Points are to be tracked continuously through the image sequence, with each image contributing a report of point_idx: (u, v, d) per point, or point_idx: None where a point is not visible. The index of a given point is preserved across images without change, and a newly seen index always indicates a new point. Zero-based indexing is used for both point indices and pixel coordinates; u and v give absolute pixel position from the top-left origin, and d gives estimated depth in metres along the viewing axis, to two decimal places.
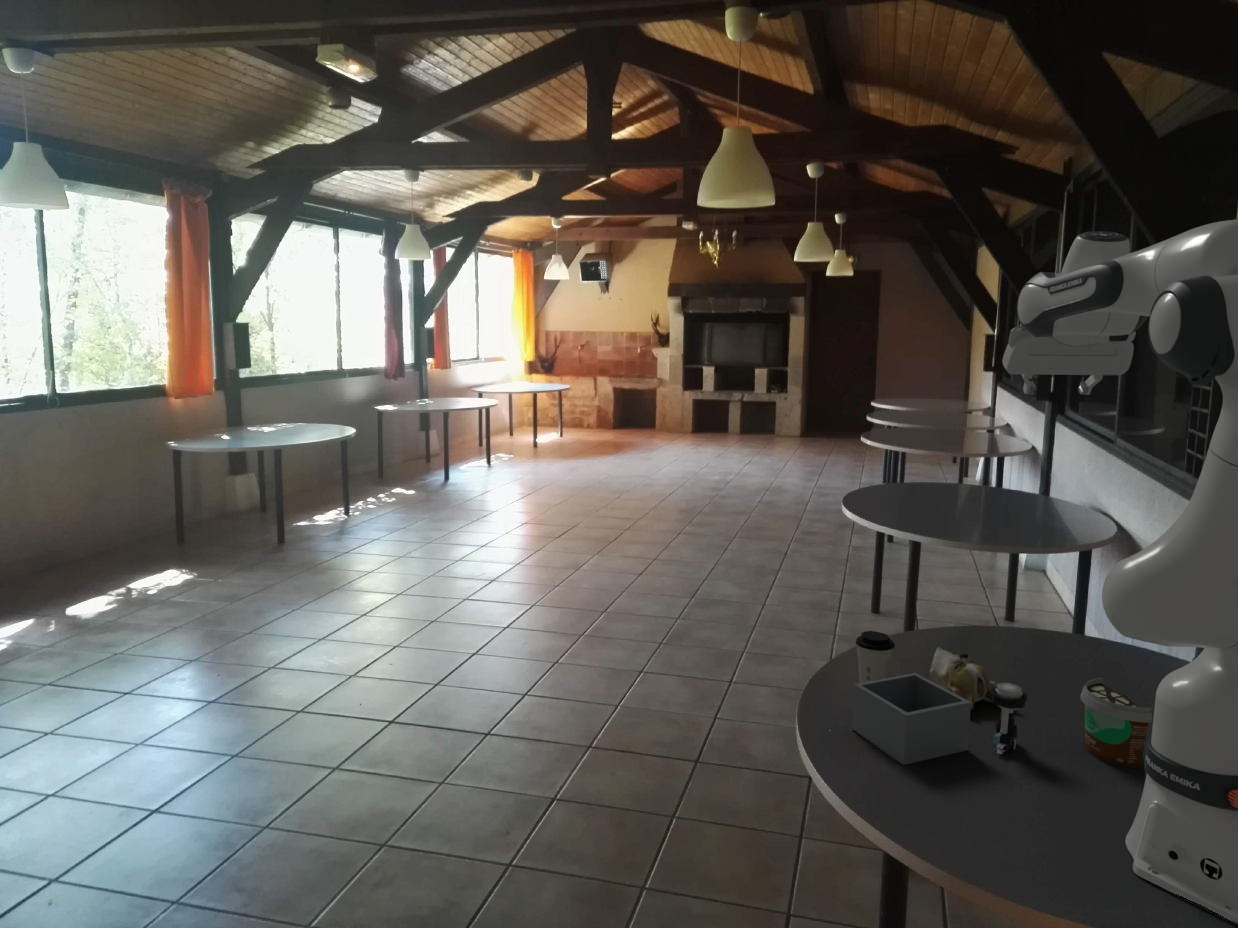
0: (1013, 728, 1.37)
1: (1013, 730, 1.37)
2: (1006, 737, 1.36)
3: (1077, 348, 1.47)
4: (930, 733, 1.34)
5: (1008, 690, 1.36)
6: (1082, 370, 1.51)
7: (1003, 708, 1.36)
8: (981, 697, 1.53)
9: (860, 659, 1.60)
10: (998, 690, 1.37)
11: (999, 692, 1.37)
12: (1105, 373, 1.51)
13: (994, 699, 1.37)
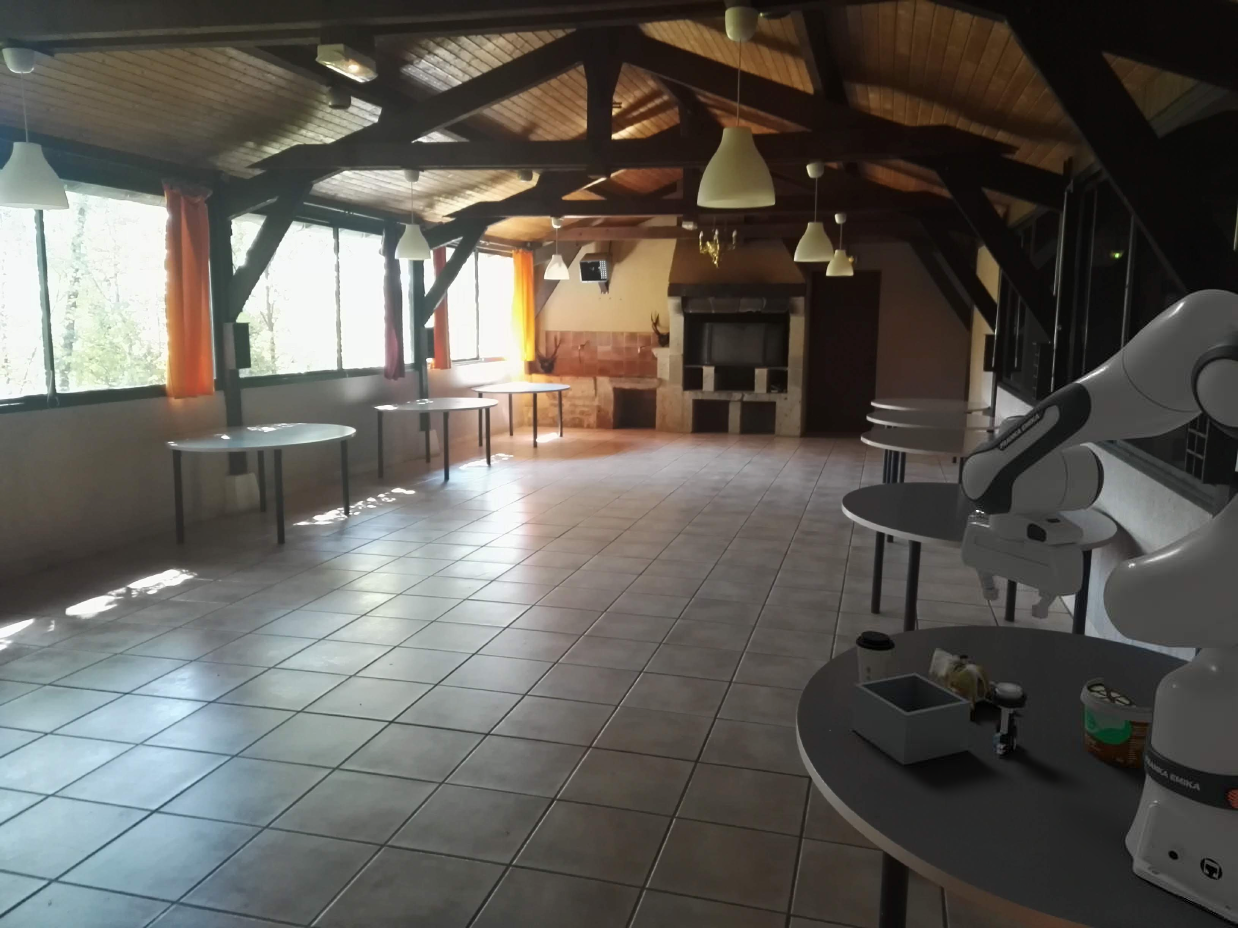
0: (1013, 728, 1.37)
1: (1013, 730, 1.37)
2: (1006, 737, 1.36)
3: (1003, 541, 1.32)
4: (930, 733, 1.34)
5: (1008, 690, 1.36)
6: (1021, 577, 1.31)
7: (1003, 708, 1.36)
8: (981, 698, 1.53)
9: (860, 659, 1.60)
10: (998, 690, 1.37)
11: (999, 692, 1.37)
12: (1042, 587, 1.27)
13: (994, 699, 1.37)
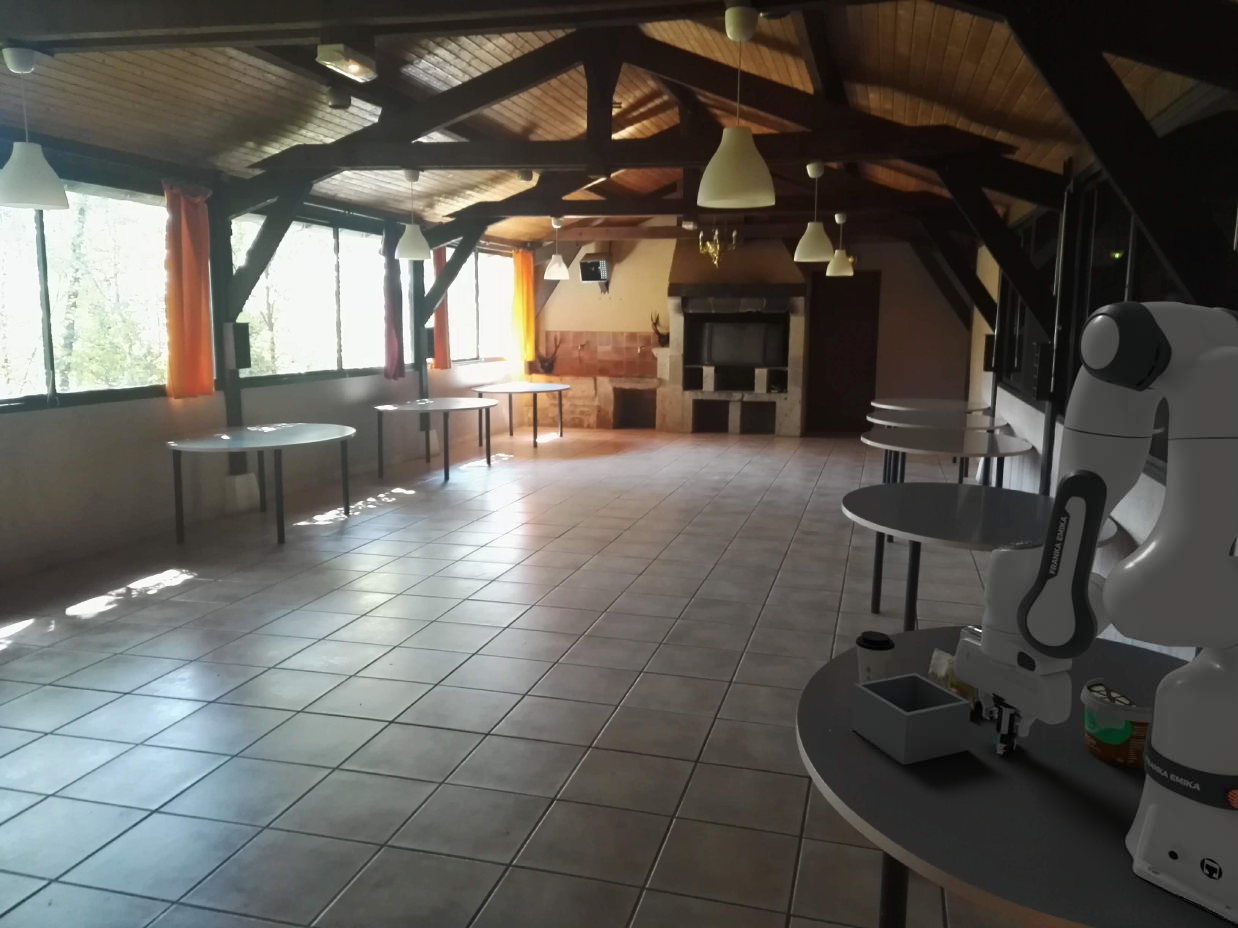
0: None
1: None
2: (1006, 737, 1.36)
3: (994, 663, 1.35)
4: (930, 733, 1.34)
5: None
6: (1011, 699, 1.34)
7: (1004, 708, 1.36)
8: None
9: (860, 659, 1.60)
10: None
11: None
12: (1032, 713, 1.30)
13: (995, 699, 1.37)
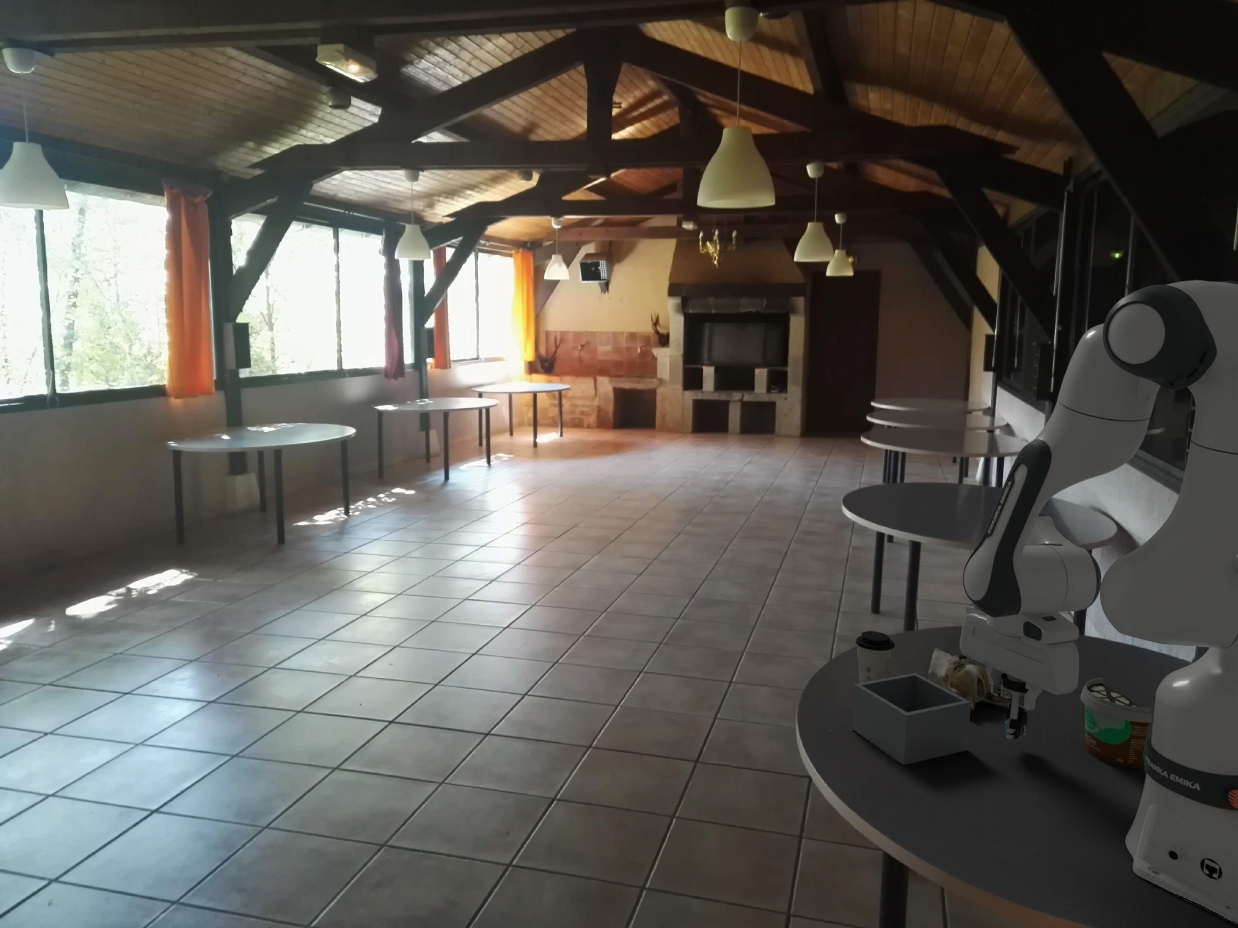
0: (1023, 714, 1.36)
1: (1023, 716, 1.35)
2: (1016, 722, 1.35)
3: (1000, 636, 1.34)
4: (930, 733, 1.34)
5: None
6: (1018, 672, 1.33)
7: (1013, 692, 1.35)
8: (981, 698, 1.52)
9: (860, 659, 1.60)
10: None
11: (1010, 676, 1.36)
12: (1039, 684, 1.29)
13: (1004, 683, 1.36)
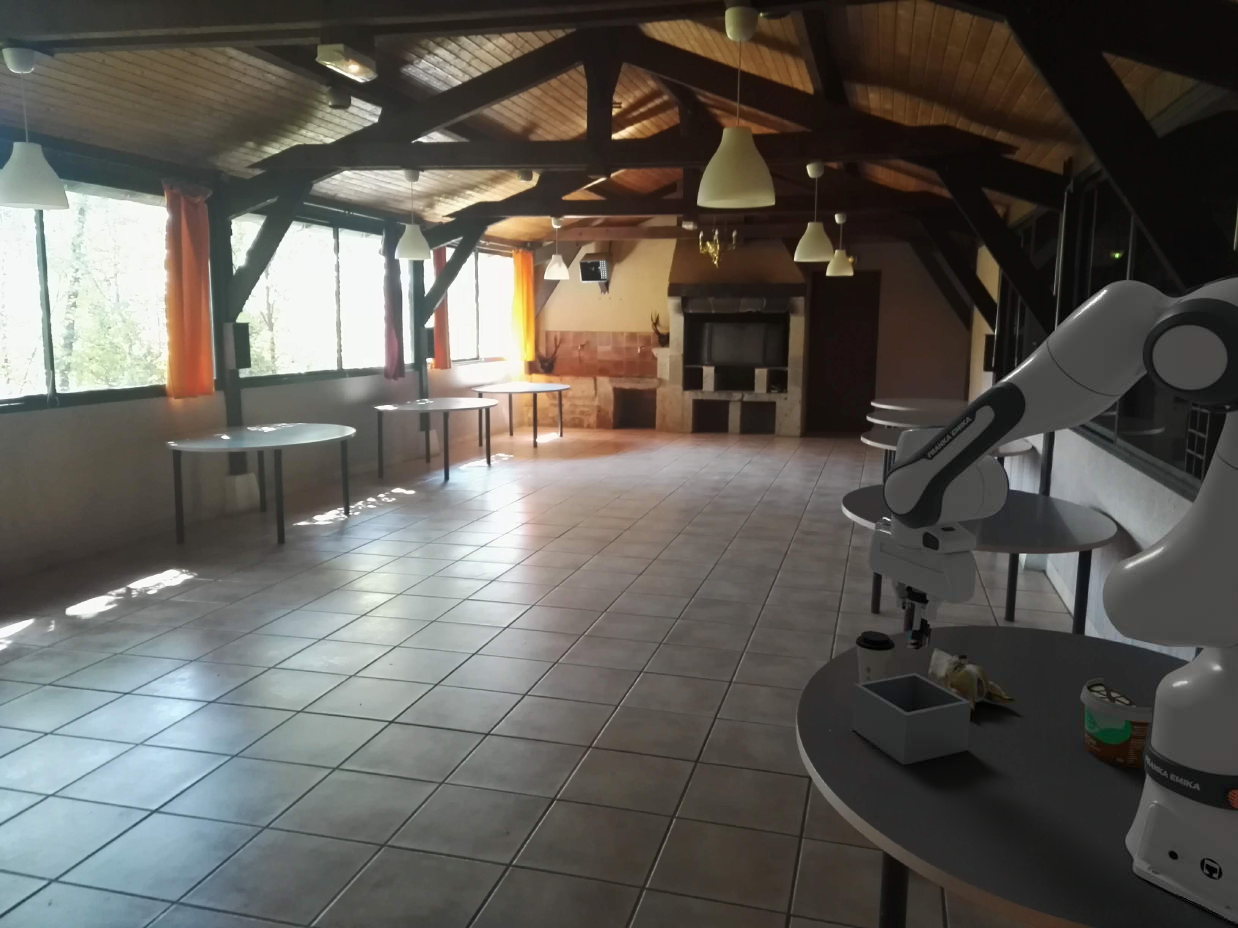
0: (925, 625, 1.37)
1: (925, 627, 1.37)
2: (918, 633, 1.36)
3: (903, 548, 1.35)
4: (930, 733, 1.34)
5: None
6: (919, 584, 1.34)
7: (916, 604, 1.37)
8: (981, 698, 1.52)
9: (860, 659, 1.60)
10: None
11: (914, 588, 1.37)
12: (937, 594, 1.30)
13: (908, 595, 1.37)
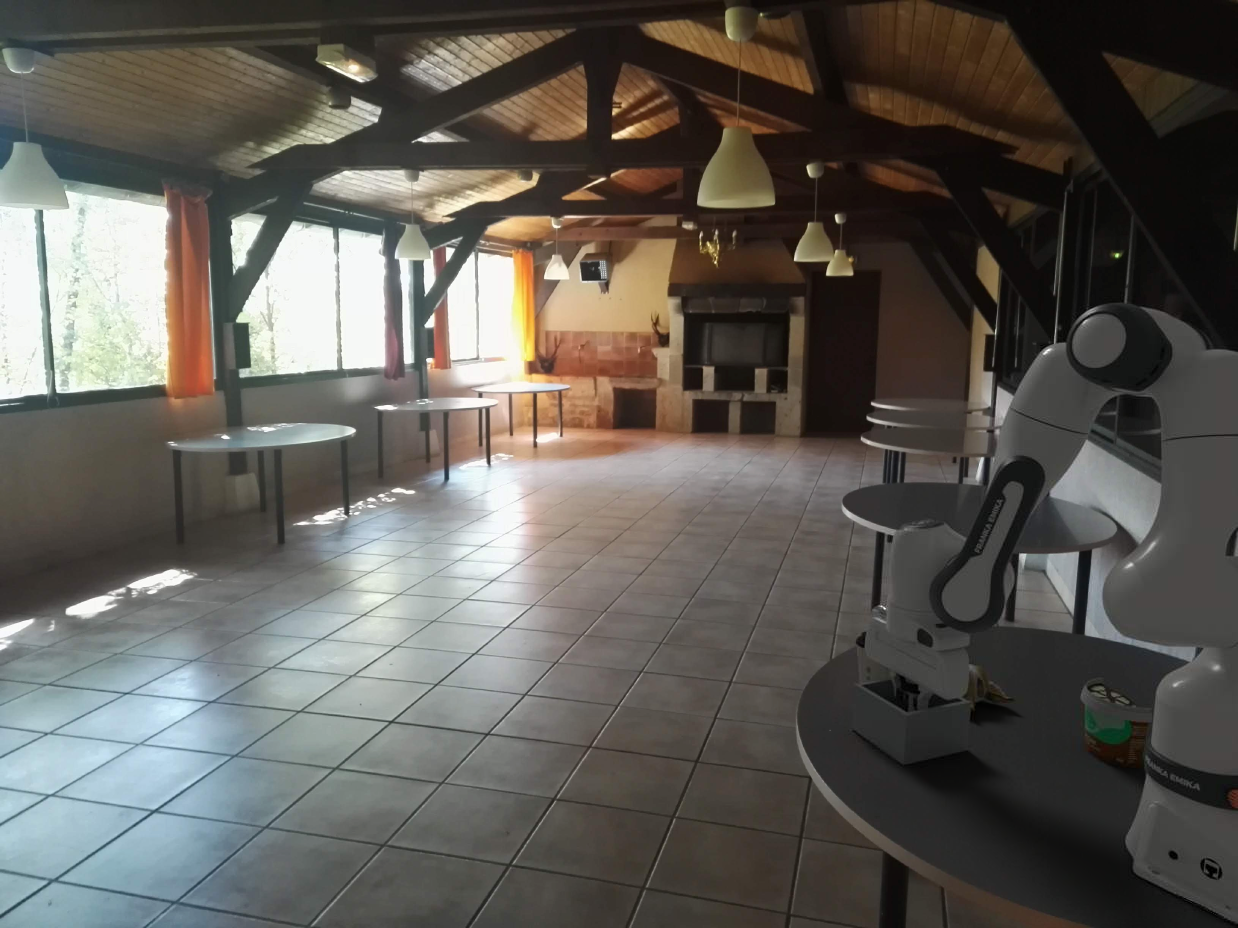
0: None
1: None
2: None
3: (898, 641, 1.37)
4: (930, 733, 1.34)
5: None
6: (914, 676, 1.36)
7: (910, 694, 1.39)
8: (981, 698, 1.52)
9: (860, 659, 1.60)
10: None
11: (906, 678, 1.40)
12: (931, 689, 1.33)
13: (902, 685, 1.40)
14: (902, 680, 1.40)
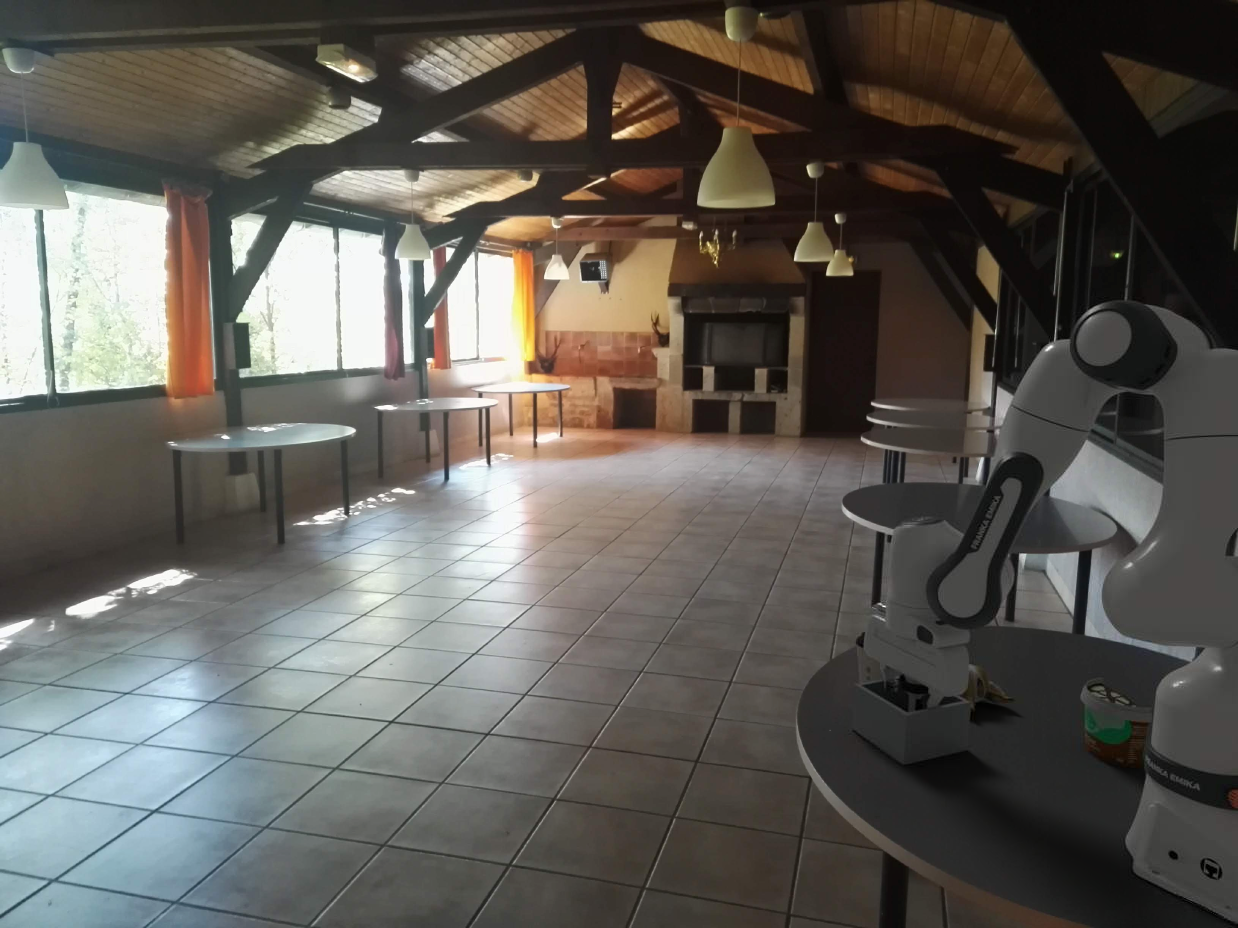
0: None
1: None
2: None
3: (897, 638, 1.37)
4: (930, 733, 1.34)
5: None
6: (913, 674, 1.36)
7: (910, 694, 1.39)
8: (981, 698, 1.52)
9: (860, 659, 1.60)
10: (906, 676, 1.40)
11: (906, 678, 1.40)
12: (931, 686, 1.32)
13: (902, 685, 1.40)
14: (902, 680, 1.40)
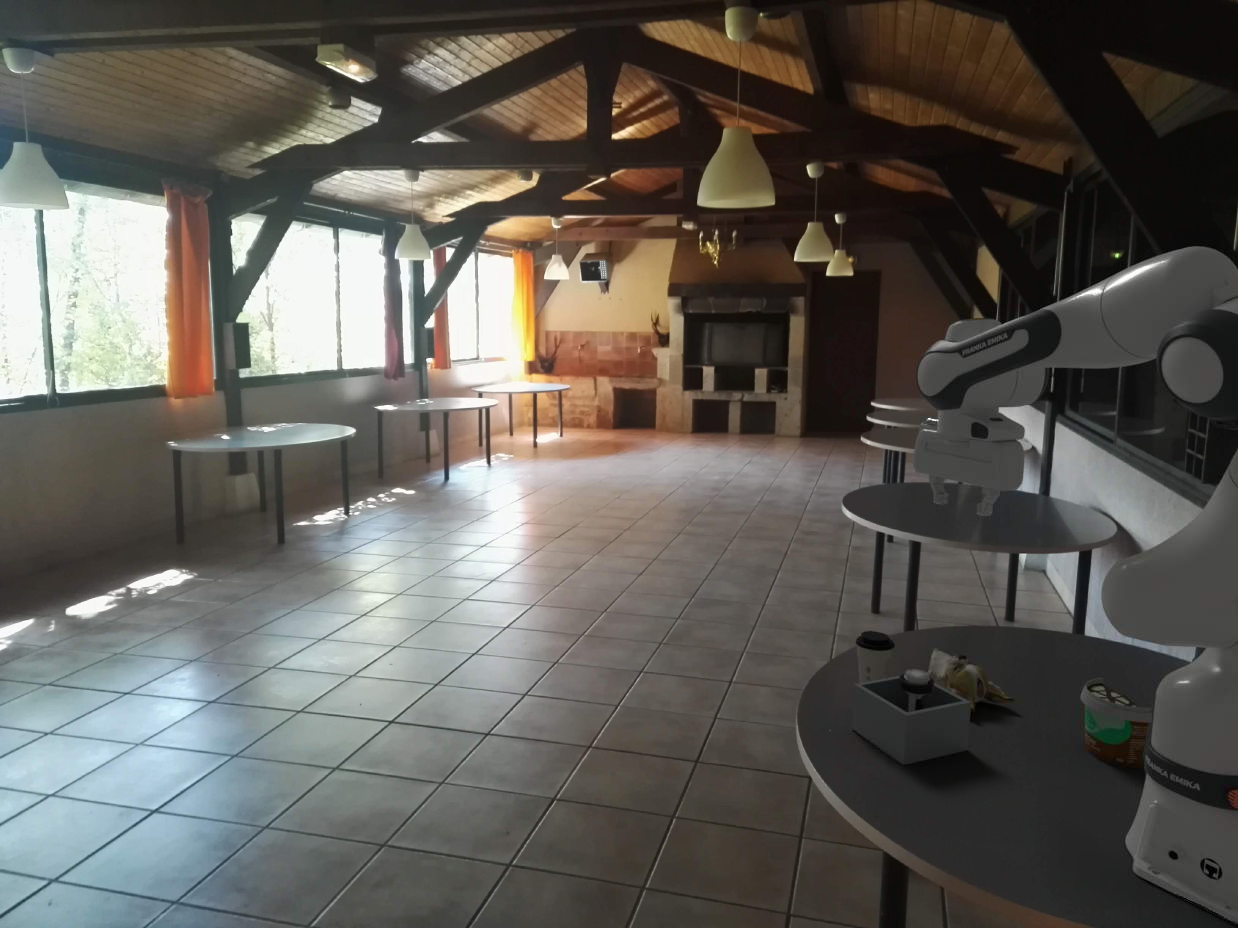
0: None
1: None
2: None
3: (950, 442, 1.37)
4: (930, 733, 1.34)
5: (915, 676, 1.39)
6: (966, 476, 1.36)
7: (910, 694, 1.39)
8: (981, 698, 1.52)
9: (860, 659, 1.60)
10: (906, 676, 1.40)
11: (907, 678, 1.40)
12: (985, 484, 1.32)
13: (902, 685, 1.40)
14: (902, 680, 1.40)
